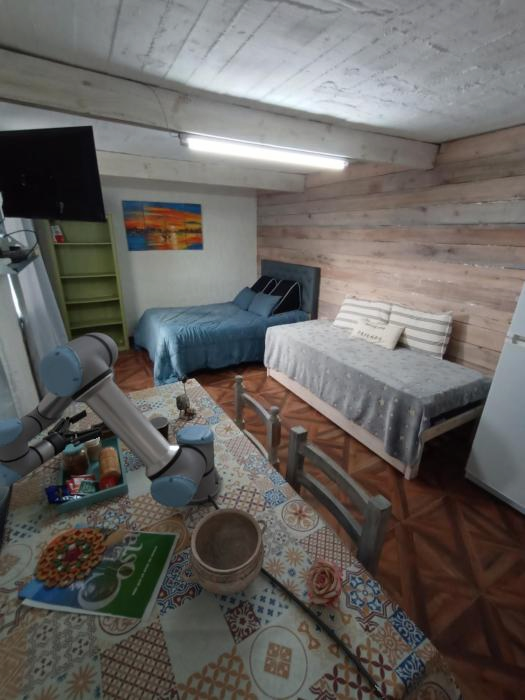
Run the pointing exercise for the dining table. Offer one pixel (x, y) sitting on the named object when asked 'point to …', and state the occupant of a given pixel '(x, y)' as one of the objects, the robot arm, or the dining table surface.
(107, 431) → the holder
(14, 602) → the dining table surface
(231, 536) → the cooking pot
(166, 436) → the coffee mug
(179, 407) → the plant with pod
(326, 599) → the flower
